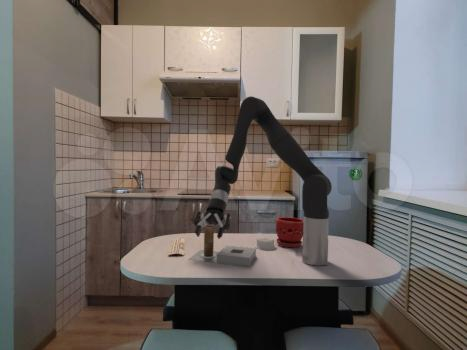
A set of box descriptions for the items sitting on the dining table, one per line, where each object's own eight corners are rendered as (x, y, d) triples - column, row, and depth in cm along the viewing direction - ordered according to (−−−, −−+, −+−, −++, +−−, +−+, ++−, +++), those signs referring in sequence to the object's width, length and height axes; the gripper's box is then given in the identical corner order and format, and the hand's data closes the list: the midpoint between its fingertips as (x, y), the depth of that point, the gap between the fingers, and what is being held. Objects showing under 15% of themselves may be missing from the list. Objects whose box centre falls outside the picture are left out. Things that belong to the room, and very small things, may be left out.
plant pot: (298, 250, 126) (299, 223, 125) (270, 245, 133) (271, 219, 132) (308, 244, 137) (309, 218, 137) (281, 239, 144) (282, 215, 143)
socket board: (255, 258, 114) (256, 248, 114) (248, 269, 102) (249, 258, 102) (200, 252, 120) (201, 242, 120) (187, 262, 108) (187, 251, 108)
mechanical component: (259, 244, 134) (249, 250, 126) (259, 235, 134) (250, 240, 125) (279, 248, 130) (271, 254, 121) (280, 238, 129) (272, 243, 121)
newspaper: (172, 242, 137) (172, 238, 137) (187, 241, 138) (187, 238, 138) (168, 258, 114) (168, 253, 114) (186, 257, 115) (186, 253, 115)
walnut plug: (214, 254, 114) (215, 226, 113) (211, 257, 110) (211, 228, 110) (205, 253, 115) (206, 225, 114) (202, 256, 111) (203, 227, 111)
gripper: (199, 196, 121) (187, 229, 111) (232, 198, 118) (223, 232, 107) (204, 207, 127) (193, 240, 116) (236, 209, 123) (227, 243, 112)
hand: (207, 236), depth 112 cm, fingers open, 8 cm apart
